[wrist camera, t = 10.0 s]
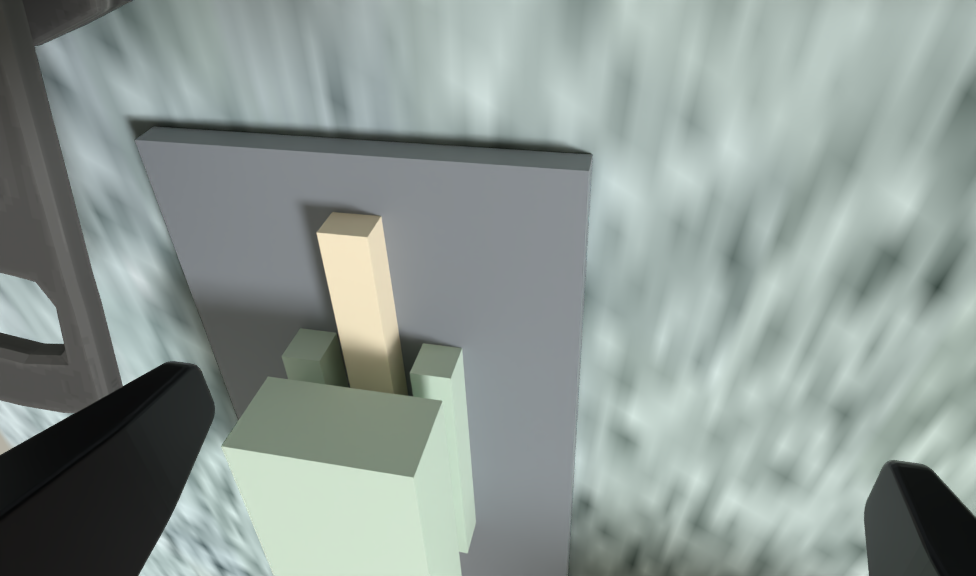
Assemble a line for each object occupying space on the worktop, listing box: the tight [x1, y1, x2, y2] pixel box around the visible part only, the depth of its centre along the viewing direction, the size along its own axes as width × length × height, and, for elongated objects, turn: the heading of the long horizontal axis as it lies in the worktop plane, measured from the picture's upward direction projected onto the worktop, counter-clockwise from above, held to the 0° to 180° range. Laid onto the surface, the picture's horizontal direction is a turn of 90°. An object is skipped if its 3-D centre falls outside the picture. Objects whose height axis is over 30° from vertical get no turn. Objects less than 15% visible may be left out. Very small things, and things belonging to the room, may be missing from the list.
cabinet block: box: [221, 328, 476, 576], centre depth 25 cm, size 6×11×6 cm, turn 3°
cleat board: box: [135, 127, 593, 576], centre depth 27 cm, size 14×24×2 cm, turn 3°
